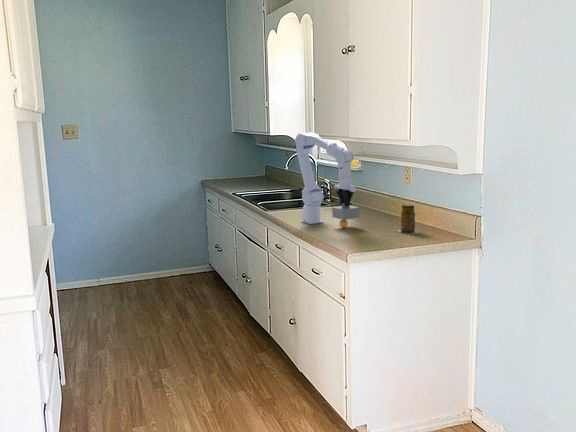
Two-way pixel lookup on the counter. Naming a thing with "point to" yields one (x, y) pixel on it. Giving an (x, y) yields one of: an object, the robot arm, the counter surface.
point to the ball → (343, 223)
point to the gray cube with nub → (345, 212)
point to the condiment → (408, 219)
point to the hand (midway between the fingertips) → (345, 205)
